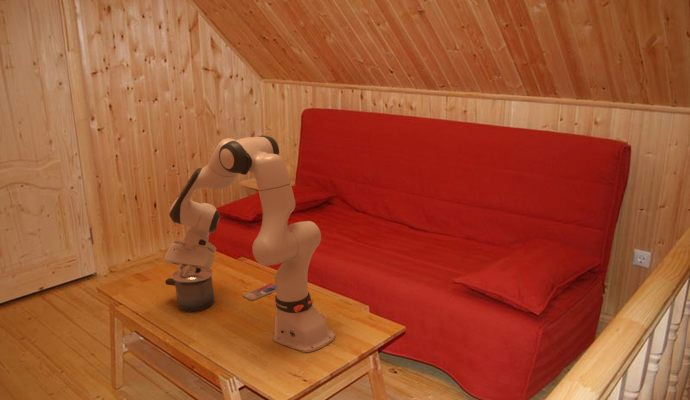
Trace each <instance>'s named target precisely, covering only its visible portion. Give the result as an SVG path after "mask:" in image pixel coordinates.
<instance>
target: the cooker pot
mask: <svg viewBox="0 0 690 400" xmlns="http://www.w3.org/2000/svg"><path fill="white" fill-rule="evenodd" d="M165 285H166V286H167V285H168V286H173V287H175V293H176V299H177V305H178V309H179V310H180V311H181V312H184V313H199V312H203V311H206V310H208V309H209V308H211V307H213V305H214V304H215V302H216V301H215V300H216V299H215V294H214V293H215V292H214V285H213V276H212V277H210V278H209V279H206V280H203V281H199V282H191V283H184V282H177V281H175V280H173V278H167V279H166V280H165Z"/></svg>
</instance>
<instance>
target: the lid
mask: <svg viewBox="0 0 690 400" xmlns="http://www.w3.org/2000/svg"><path fill="white" fill-rule="evenodd" d="M186 269H187V267H185V268H183V272H184V271H185V270H186ZM178 273H179V269H178V270H176V271H174V272H173V273H172V279H173V280H175V281H177V282H184V283H191V282H199V281H203V280H206V279H209V278H210V277H212V278H213V270H212V269H211V268H210V269H201V268H195V267H193V269H192V270H191V271H190V272H189V273H188V275H187V277H186V278H185V277H180V276H178Z"/></svg>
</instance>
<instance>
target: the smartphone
mask: <svg viewBox="0 0 690 400" xmlns="http://www.w3.org/2000/svg"><path fill="white" fill-rule="evenodd" d="M274 293H276V288H275V283H268V284H265V285H264V286H261V287H258V288H256V289H253V290H251V291H249V292H247V293H245V294H242V298H244V299H246V300H248V301H249V302H255V301H257V300H261V298H264V297H267V296H268V295H272V294H274Z"/></svg>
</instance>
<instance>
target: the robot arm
mask: <svg viewBox="0 0 690 400" xmlns="http://www.w3.org/2000/svg"><path fill="white" fill-rule="evenodd" d="M248 173H250V174H252V175H253V176H254V177H255V182H256V186H257V190H258V193H259V199H260V204H261V205H260V206H261V210H262V220H261V227H260V230H259V232H258V234H257V236H256V238H255V239H254V241H253V243H252V254H253V257H254V259H255V260H256V262H257V263H258V264H260V265H261V266H263V267H267V266H276V265H279V264H281V265H280V266H279V268H278V269H277V270H276V271H275V274H274V284H275V288H276V292H275V298H274V302H275V307H276V313H275V316H274V317H275V318H274V335H273V338H272V341H273V342H275V343H278V344H281V345H283V346H286V347H289V348H291V349H294V350H297V351H299V352H303V353H312V352H314V351H318V350H320V349H322V348H324V347H326V346H327V345H329V344H331V342H333V341H334V339H335V338H336V334H335V332H333V331H332V330H331V329H329V328H328V324H327V321H326V319H325V314H324V313H320V311H318V309H317V308H316V306H314V304H313V303H314V300H315V299H314V298H313V299H312V297H311V294H310V292H309V288H308V287H309V286H308V285H309V284H308V272H309V271H308V270H309V266H310V262H311V260H312V256H313V254H314V252H315V251H316V249H317V248H318V246H319V245H320V244H321V242H322V233H321V230H320V228H319V227H318V225H317V224H316V223H315V222H313V221H311V220H306V221H305V220H304V221H303V220H302V221H297V222H294V223H291V224H288V220H289V218H290V216H291V214H292V212H294V210H295V208H296V200H295V195H294V190H293V186H292V182H291V178H290V174H289V172H288V168H287V166H286V164H285V161H284V158H283V157H282V156H281V155H280V148H279V144H278V142H277V141H276V140H275V139H274V137H271V136H268V135H258V136H252V137H249V136H248V137H243V138H238V139H235V138H230V137H229V138H223V139H222V140H220V141H219V142H218V144H217V146H216V147H215V149H214V150H213V152H212V154H211V156H210V159H209V161H208V164H206V165H205V166H204V167H198V168H197V169H196V170H195V171H194V172H193V173H192V175H191V176H190V178H188V180H187V182H186V184H185V186H184V187H183V189H181V192H180V193H179V195H178V196H177V198H176V199H175V200H174V201H173V202H172V203H171V206H170V208H169V213H168V215H169V218H170V219H171V221H172V222H173V224H174V223H175V224H179V225H184V226H186V227H189V228H187V229H188V230H187V231H186V233H185V235H184V238H183V239H182V241H179V240H175V241H173V242H172V243H171V244H170V247H169V248H168V250H167V251H166V253H165V255H164V258H163V259H164V262H166V263H167V264H170V265H175V266H178V267H177V268H178V270H179V273H178V276H180V277H185V278H186V277H187V275H188V273H189V272H190V271H191V270H192V269H193V267H195V268H201V269H211V268H212V265H214V264H213V263H214V260H215V253H216V251H217V247H216V246H215V245H213V244H212V243H211V242H209V235H210V234H212V233H213V232H216V231H217V227H218V224H219V221H220V220H221V215H220V212H219V211H218V209H217V208H216V207H215V205H213V204H211V203H209V202H208V203H207V202H201V203H199V202H197V201H194V200H193V199H191V198H192V197H193V195H195V192H196V191H197V190H200V189H202V190H203V189H212V190H224V189H226V188H229V187H231V186H232V185H233V184H234V183H235V181H236V180H237V178H238V175H239V174H240V175H245V176H246V175H247V174H248ZM185 268H187V269H186V270H185V271H184V272H183V269H185Z"/></svg>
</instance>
